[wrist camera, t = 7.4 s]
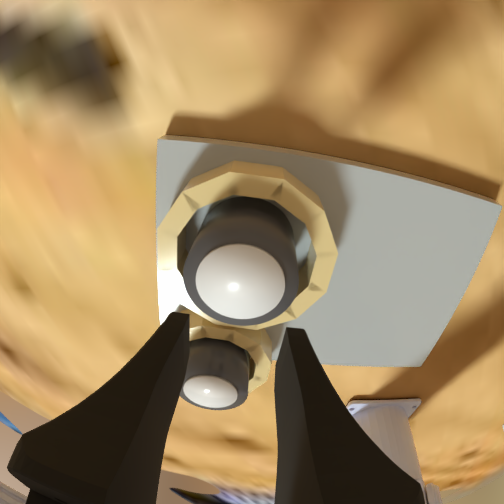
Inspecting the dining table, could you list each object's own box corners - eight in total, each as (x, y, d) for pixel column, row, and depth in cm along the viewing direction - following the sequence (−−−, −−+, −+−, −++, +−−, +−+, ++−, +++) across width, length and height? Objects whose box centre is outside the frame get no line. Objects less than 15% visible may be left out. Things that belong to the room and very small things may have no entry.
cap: (286, 284, 18) (288, 333, 15) (198, 274, 18) (183, 321, 15) (301, 202, 16) (309, 240, 12) (201, 191, 16) (181, 225, 12)
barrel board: (404, 374, 24) (419, 425, 20) (167, 354, 24) (150, 410, 19) (492, 198, 16) (542, 238, 11) (164, 134, 16) (122, 161, 11)
